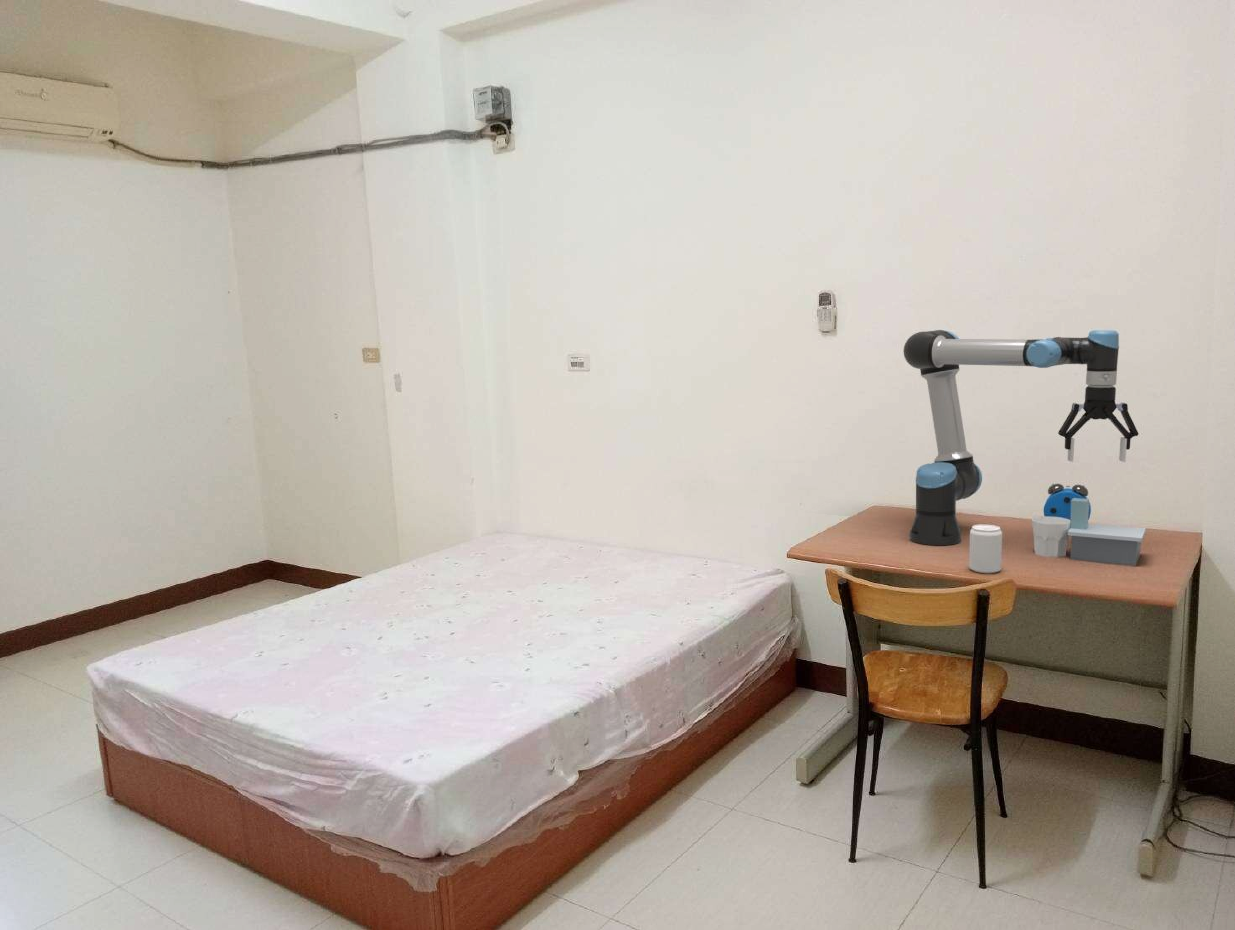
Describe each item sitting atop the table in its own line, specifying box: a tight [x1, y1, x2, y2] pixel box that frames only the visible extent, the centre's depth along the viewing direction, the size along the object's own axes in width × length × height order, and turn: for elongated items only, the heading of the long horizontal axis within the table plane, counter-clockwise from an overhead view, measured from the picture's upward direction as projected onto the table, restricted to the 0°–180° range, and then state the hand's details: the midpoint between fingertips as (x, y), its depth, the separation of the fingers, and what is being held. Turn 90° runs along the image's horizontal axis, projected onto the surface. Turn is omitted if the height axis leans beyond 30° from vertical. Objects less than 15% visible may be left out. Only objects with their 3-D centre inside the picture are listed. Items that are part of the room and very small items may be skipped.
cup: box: [1031, 515, 1070, 559], centre depth 259 cm, size 10×10×10 cm
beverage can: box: [968, 523, 1003, 574], centre depth 246 cm, size 8×8×12 cm
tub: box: [1070, 535, 1142, 567], centre depth 253 cm, size 16×12×7 cm
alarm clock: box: [1043, 483, 1092, 521], centre depth 284 cm, size 13×6×15 cm, turn 61°
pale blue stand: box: [1068, 498, 1147, 543], centre depth 252 cm, size 18×13×9 cm
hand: (1096, 461), depth 256 cm, fingers open, 13 cm apart
